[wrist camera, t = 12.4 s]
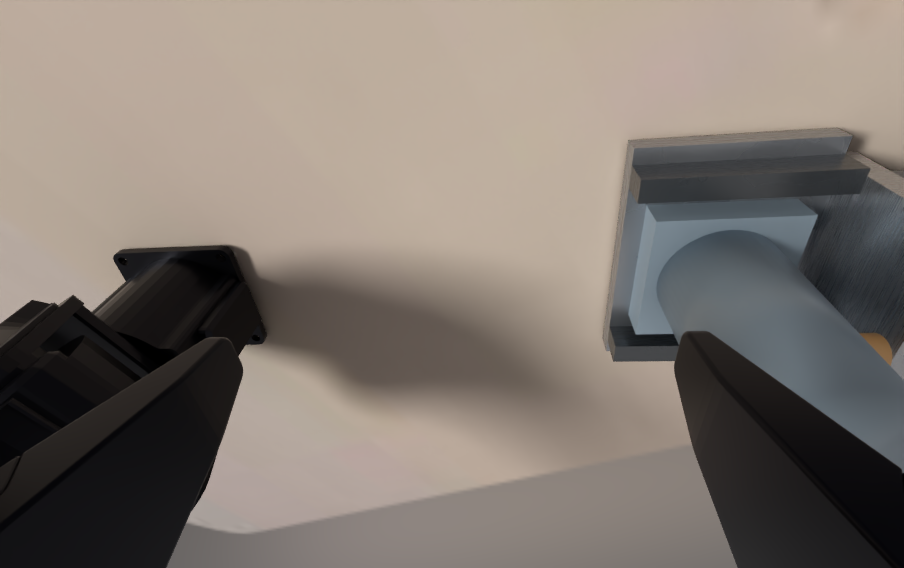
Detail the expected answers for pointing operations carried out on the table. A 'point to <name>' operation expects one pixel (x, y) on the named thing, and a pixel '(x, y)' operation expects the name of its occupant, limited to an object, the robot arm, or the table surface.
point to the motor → (771, 178)
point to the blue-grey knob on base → (766, 309)
